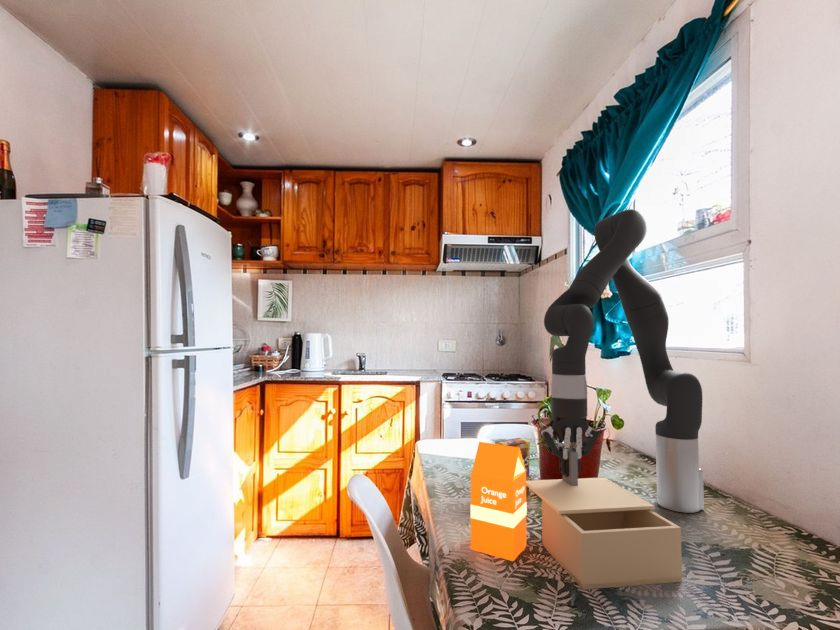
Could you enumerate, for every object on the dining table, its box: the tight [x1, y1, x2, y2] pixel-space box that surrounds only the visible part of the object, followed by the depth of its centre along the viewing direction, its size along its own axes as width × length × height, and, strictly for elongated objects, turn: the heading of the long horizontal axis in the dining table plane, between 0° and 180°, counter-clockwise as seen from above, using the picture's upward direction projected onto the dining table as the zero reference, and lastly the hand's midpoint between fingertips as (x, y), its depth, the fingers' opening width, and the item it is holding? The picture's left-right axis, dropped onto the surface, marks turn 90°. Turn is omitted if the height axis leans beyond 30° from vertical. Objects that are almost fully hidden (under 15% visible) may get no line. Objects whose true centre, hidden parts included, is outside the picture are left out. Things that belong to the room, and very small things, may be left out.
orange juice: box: [470, 441, 528, 562], centre depth 87 cm, size 8×9×20 cm
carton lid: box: [526, 447, 656, 514], centre depth 89 cm, size 19×17×8 cm
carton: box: [541, 499, 683, 590], centre depth 81 cm, size 18×16×9 cm
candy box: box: [494, 437, 531, 502], centre depth 111 cm, size 9×4×15 cm, turn 123°
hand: (569, 475), depth 95 cm, fingers closed
